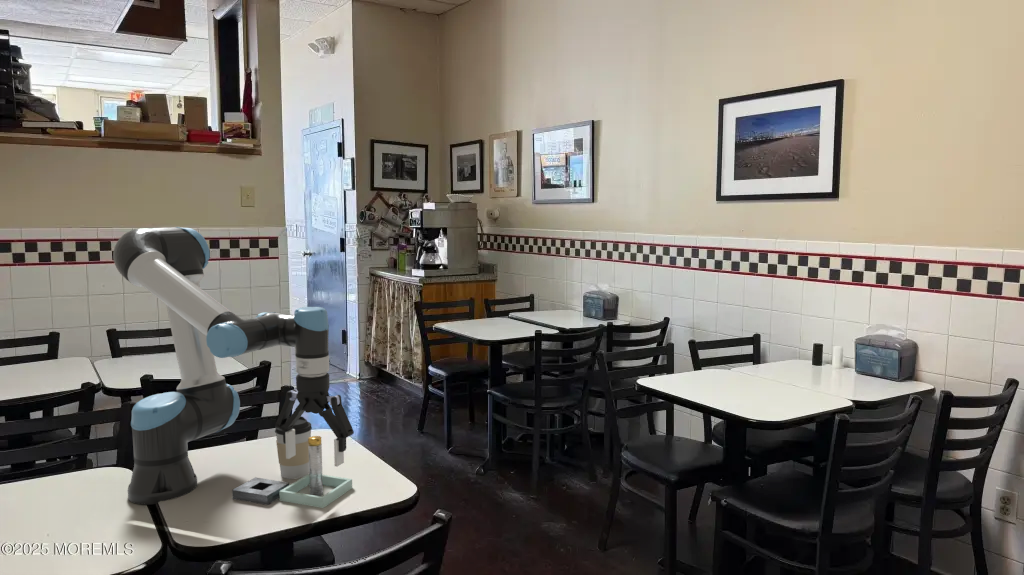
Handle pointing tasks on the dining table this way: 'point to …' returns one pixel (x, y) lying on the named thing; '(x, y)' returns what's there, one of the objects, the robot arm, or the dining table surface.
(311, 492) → the pin
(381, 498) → the dining table surface
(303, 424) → the coffee cup
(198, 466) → the dining table surface
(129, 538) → the dining table surface
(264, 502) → the block
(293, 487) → the tray
